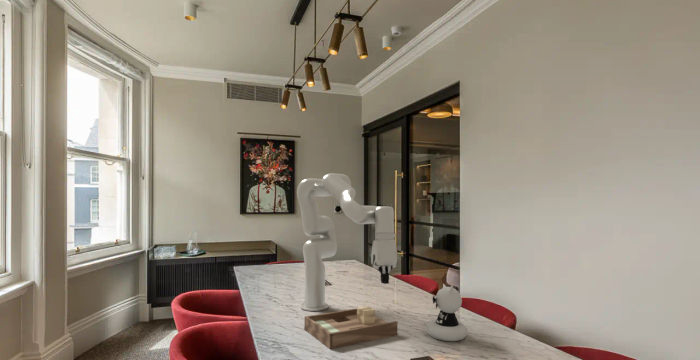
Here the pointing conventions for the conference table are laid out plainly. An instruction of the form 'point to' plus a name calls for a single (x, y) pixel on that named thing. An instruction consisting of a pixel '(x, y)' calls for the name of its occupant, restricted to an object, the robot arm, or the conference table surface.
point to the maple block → (366, 315)
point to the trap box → (346, 328)
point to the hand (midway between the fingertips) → (384, 283)
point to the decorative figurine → (447, 316)
